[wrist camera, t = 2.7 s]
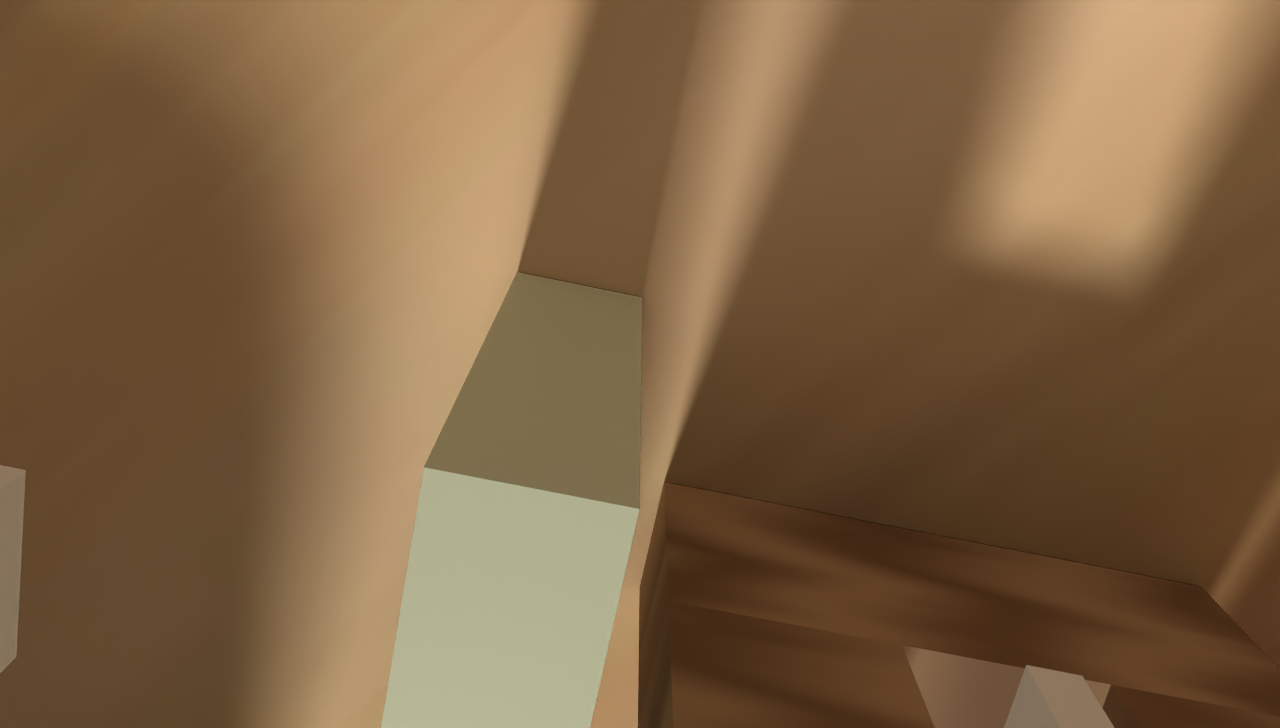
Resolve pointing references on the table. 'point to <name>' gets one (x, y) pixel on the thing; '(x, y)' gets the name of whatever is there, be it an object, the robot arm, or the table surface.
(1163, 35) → the table surface
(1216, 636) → the brown wooden slotted board
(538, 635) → the slot plate
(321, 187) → the table surface
